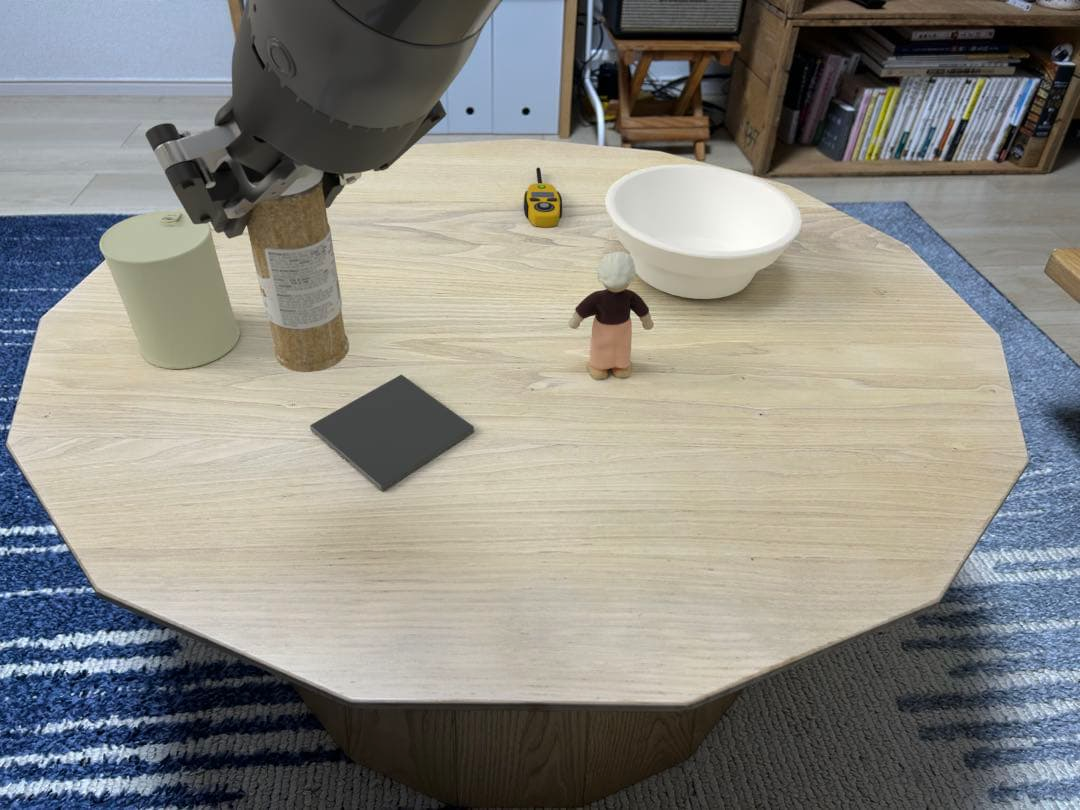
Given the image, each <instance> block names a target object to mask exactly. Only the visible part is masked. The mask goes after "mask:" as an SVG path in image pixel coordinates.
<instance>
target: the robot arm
mask: <svg viewBox="0 0 1080 810" xmlns="http://www.w3.org/2000/svg"><path fill="white" fill-rule="evenodd" d="M503 1H504V0H245V4H244V8H243V12H242V15H241V19H240V23H239V27H238V29H237V30H238V31H237V34H236V37H235V42H234V46H233V51H232V58H231V94H232V95H231V97H230V98H229V100H228V101H227V102H226V103H225V104H224V105H223V106H221V108H219V109H218V110H217V112H216V114H215V117H214V122H213V123H214V124H213V125H214V126H212V127H210V128H207V129H204V130H201V131H198V132H196V133H192V134H191V131H188V130H184V131H181V132H180V133H179V131H178V129H177V127H176V125H175V124H173V123H171V122H170V123H169V122H165V123H159V124H156V125H154V126H152V127H150V128H149V129H148V130H147V131H146V132H145V135H144V136H145V138H146V140H147V142H148V144H149V146H150V147H151V150H152V151H153V153H154V155H155V157H156V159H157V161H158V163H159V164H160V166H161V169H162V171H163V172H164V174H165V177H166V178H167V181H168V182H169V185H170V186H171V188H172V190H173V192H174V193H175V195H176V197H177V199H178V200H179V202H180V204H181V206H182V208H183V209H184V212H187V214H188V216H189V217H190V219H191V221H192V223H193V224H205V223H211V224H210V225H211V227H212V228H213V230H214V231H215V233H216V234H220V233H224V235H225V237H226V238H227V239H229V240H230V239H233V238H236V237H240V236H242V235H243V234H244V231H245V229H246V228H247V223H248V220H249V218H250V216H251V214H252V210H251V209H252V208H253V207H254V206H255V205H256V204H257V203H261V202H267V201H273V200H276V199H277V198H278V197H279V196H280V195H281V194H282V193H283V192H284V191H285V190H287V189H288V188H289V187H290V186H291V185H292V184H293V183H294V182H295V181H296V180H297V179H298V178H304V177H308V176H309V175H310V174H311V173H312V172H313V171H314V170H315V169H317V170H321V171H323V172H324V174H323V177H322V181H323V185H322V189H323V195H324V202H325V207H326V209H329V208H330V207H331V206H332V204H333V203H334V201H335V200H336V199H337V196H338V195H340V194H341V193H342V191H343V189H344V188H345V187H346V186H347V185H353V184H355V183H356V182H357V181H358V180H359V179H360V178H361V177H362V173H366V172H369V171H372V170H373V171H374V172H380V171H386V170H388V169H389V168H390V167H391V166H392V165H393V164H394V163H395V162H396V161H398V160H399V159H401V157H402V156H403V155H404V154H405V153H407V152H408V151H409V150H410V149H411V148H412V147H413V146H414V145H415V144H417V142H419V141H420V140H421V139H422V138H423V137H424V136H426V134H428V133H429V132H430V131H431V130H432V129H433V128H434V127H435V126H436V125H438V124H439V123H440V122H441V121H442V120H444V118H445V117H446V116H447V112H446V110H445V108H444V106H443V103H442V101H441V98H442V97H443V96H444V94H445V93H446V91H447V90H448V89H449V87H450V86H451V84H452V83H453V82H454V80H456V78H457V76H459V74H460V72H461V71H462V69H464V67H465V65H466V63H467V62H468V60H469V58H470V57H471V55H472V53H473V51H474V49H475V48H476V45H477V43H478V41H479V38H480V37H481V34H482V32H483V30H484V27H485V26H486V24H487V23H488V21H489V20H490V18H491V17H492V16H493V15H494V13H495V12H496V11H497V9H498V8H499V6H500V5H501V3H502V2H503Z"/></svg>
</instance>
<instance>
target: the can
mask: <svg viewBox="0 0 1080 810" xmlns="http://www.w3.org/2000/svg"><path fill="white" fill-rule="evenodd" d="M98 246H99V249H100V252H101V253H102V255H103V257H104V260H105V261H106V265H107V267H108V269H109V271H110V273H111V276H112V280H113V281H114V283H115V287H116V289H117V291H118V293H119V296H120V298H121V301H122V303H123V306H124V308H125V311H126V314H127V316H128V319H129V321H130V324H131V327H132V329H133V332H134V335H135V338H136V340H137V343H138V349H139V353H140V355H141V357H142V358H143V359H144V360H145V361H146V362H147V363H149V364H151V365H153V366H156V367H158V368H163V369H171V370H179V369H180V370H183V369H184V370H185V369H191V368H196V367H201V366H205V365H207V364H210V363H212V362H215V361H217V360H218V359H221V358H222V357H224V356H225V355H227V354H228V353H229V352H231V350H232V349H233V348H235V346H236V344H237V343H238V342H239V340H240V337H241V328H240V325H239V324H238V322H237V319H236V316H235V314H234V310H233V307H232V304H231V303H232V302H231V300H230V297H229V293H228V289H227V286H226V283H225V278H224V275H223V271H222V268H221V265H220V261H219V257H218V253H217V250H216V246H215V242H214V238H213V234H212V226H211V224H210V222H208V223H205V224H193V223H192V221H191V219H190V217H189V216H188V214H187V212H186V211H182V210H159V211H150V212H146V213H141V214H136V215H134V216H131V217H128V218H126V219H123V220H122V221H119V222H117V223H116V224H114V225H112V226H111V227H110V228H108V229H107V230H106V231H105V232H104V233H103V234H102V235H101V238H100V239H99V245H98Z"/></svg>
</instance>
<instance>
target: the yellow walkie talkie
mask: <svg viewBox="0 0 1080 810" xmlns="http://www.w3.org/2000/svg"><path fill="white" fill-rule="evenodd" d="M541 171H542V170H541V167H536V178H537V182H536V183H531V184H530V185H528V188H527V190H525V192H524V196H523V211H524V215H525V217H526V218H527V219H528V221H530V224H531V225H533V226H534V227H540V228H551V227H555V226H557V225H558V223H559V221H560V219H561V218H562V214H563V198H562V195H561V193H560V192H559V190H557V188H555V186H554V185H553V184H551V183H546V182H544V183H543V178H542V172H541Z"/></svg>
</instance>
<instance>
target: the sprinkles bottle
mask: <svg viewBox="0 0 1080 810" xmlns="http://www.w3.org/2000/svg"><path fill="white" fill-rule="evenodd" d="M323 174H324V172H323V171H321V170H317V169H315V170H314V171H313V172H312V173H311V174H310V175H309V176H308V177H304V178H298V179H297V180H296V181H295V182H294V183H293V184H292V185H291V186H290V187H289V188H288V189H287V190H285V191H284V192H283V193H282V194H281V195H280V196H279V197H278V198H277V199H276V200H273V201H267V202H261V203H257V204H256V205H255V206H254V207H253V208H252V209H251V210H252V214H251V216H250V218H249V220H248V223H247V225H246V228H247V233H248V238H249V241H250V247H251V254H252V259H253V264H254V267H255V273H256V277H257V281H258V285H259V289H260V295H261V299H262V302H263V308H264V311H265V315H266V318H267V319H268V321H269V323H268V324H269V326H270V331H271V336H272V339H273V345H274V346H273V352H274V356H275V358H276V360H277V362H278V363H279V364H280V365H281V366H282V367H284V368H286V369H287V370H290V371H293V372H299V373H313V372H321V371H325V370H328V369H331V368H333V367H335V366H336V365H338V364H340V363H341V362H342V361H343V360H344V359H345V358H346V357H347V355H348V352H349V351H350V342H349V338H348V336H347V335H346V332H345V323H344V318H343V312H342V306H343V303H342V302H343V301H342V296H341V288H340V282H339V276H338V270H337V269H338V268H337V263H336V257H335V249H334V244H333V237H332V231H331V225H330V224H329V220H328V215H327V208H326V207H325V202H324V195H323V189H322V185H323V181H322V177H323Z"/></svg>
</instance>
